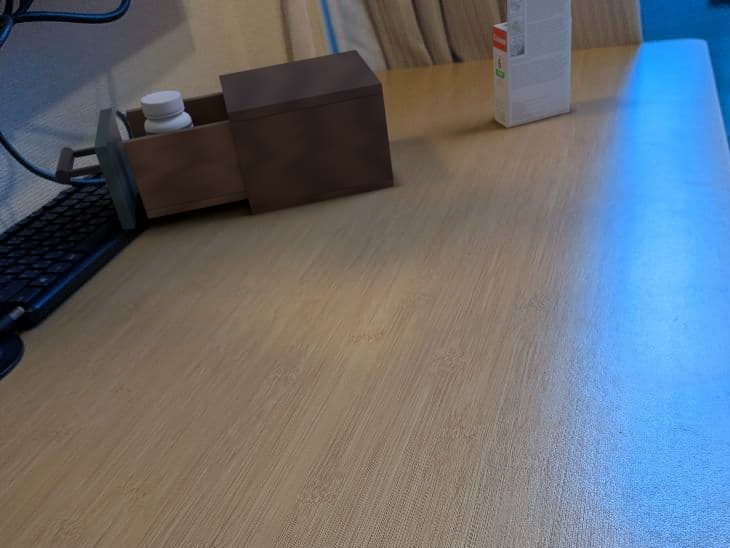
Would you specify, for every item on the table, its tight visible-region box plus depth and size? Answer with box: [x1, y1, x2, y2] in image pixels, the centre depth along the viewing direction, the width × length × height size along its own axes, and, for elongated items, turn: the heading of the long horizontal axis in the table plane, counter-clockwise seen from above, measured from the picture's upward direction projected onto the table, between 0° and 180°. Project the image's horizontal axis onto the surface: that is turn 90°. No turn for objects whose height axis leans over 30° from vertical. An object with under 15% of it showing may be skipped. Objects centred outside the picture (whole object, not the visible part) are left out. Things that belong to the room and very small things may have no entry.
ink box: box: [492, 0, 572, 129], centre depth 90 cm, size 4×8×15 cm, turn 110°
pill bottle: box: [140, 90, 193, 136], centre depth 83 cm, size 5×5×8 cm
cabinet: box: [218, 49, 395, 216], centre depth 85 cm, size 15×14×10 cm
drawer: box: [54, 91, 248, 231], centre depth 84 cm, size 18×13×8 cm
